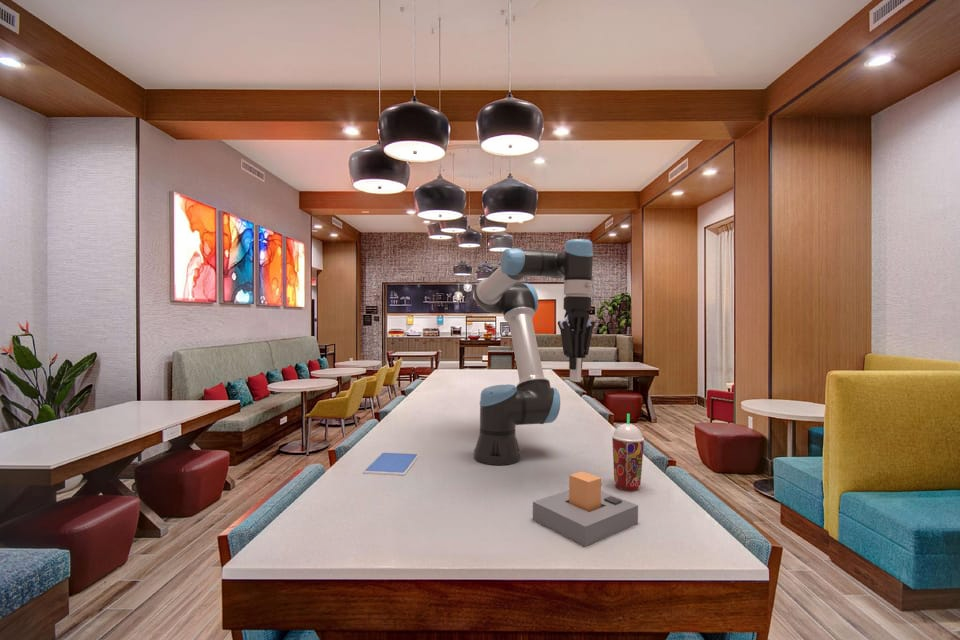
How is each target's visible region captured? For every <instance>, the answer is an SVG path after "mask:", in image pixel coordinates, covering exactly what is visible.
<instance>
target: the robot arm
mask: <svg viewBox="0 0 960 640" xmlns="http://www.w3.org/2000/svg"><path fill="white" fill-rule="evenodd" d="M564 244H565V246H564V249H563V251H559V250H558V251H557V250H556V251H555V250H539V249H538V250H537V249H527V248H519V247H514V248H506V249H504V250H503V252H502V253H501V256H500V265H499V266H498V267H497V269H495V270H494V271H493V272H492V273H491V275H489V276H488V277H487V278H484V279H482V280H480V281H478V283H477V284H476V286H475V288H474V290H473V298H474V300H475V302H476V304H477V306H478V307H479V308H481V309H482V310H483V311H485V312H488V313H492V314H503V319H504V321H505V322H506V323H508V325H509V330H510V336H511V341H512V347H513V352H514V357H515V364H516V371H517V374H518V380H519V381H518V383H517V384H516V385H515V384H497V385H491V386H488V387H485V388H484V389H482V391H481V392H480V398H479V399H480V400H479V407H480V408H479V435H478V438H477V441H476V446H475V448H474V451H473V458H474V460H475V461H477V462H478V463H482V464H486V465H493V466H503V465H504V466H505V465H512V464H515V463H518V462H519V461H521V450H520V447H519V442H518V440H517V436H516V435H517V434H516V428H517V427H516V426H523V425H544V424H551V423H554V421H556V420H557V418H558V416H559V413H560V410H561V395H560V393H559V391H558V389H557V388H555V387H551V383H550V380H549V379H548V378H546V377H545V375H544V371H543V370H544V369H543V365H542V361H541V360H542V359H541V356H540V350H539V346H538V341H537V338H536V332H535V328H534V323H533V318H534V316H535V314H536V312H537V310H538V308H539V296H538V291H537V290H536V288H535V286H533V285H532V284H530V283H524V282H520V281H521V280H522V279H524V278H525V277H526V276H528V277H529V276H531V277H532V276H534V277H549V278H555V279H562V278H564V279H563V280H564V281H563V295H564V297H563V310H564V311H565V313H564V316H563V317H564V318H563V319H562V320H559V321H558V322H557V325H558V328H559V331H560V338H561V344H562V350H563V351H562V353H563V355H564V356H565V357H566V358H568V359H569V360H568V361H569V363H568V369H569V381H570V382H575V383H581V382H582V369H583V359H585V358H586V357H587V356H588V355H589V352H590V345H591V341H592V336H593V330H594V328H595V326H596V322H595V321H594V320H593V321H592V320H590V313H589V311H591V309H592V298H591V297H590V296H591V295H592V287H593V284H592V283H593V261H594V252H593V249H594V248H593V241H591V240H590V239H585V238H584V239H583V238H577V239H576V238H574V239H569V240H566V242H565V243H564Z"/></svg>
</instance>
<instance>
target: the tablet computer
mask: <svg viewBox="0 0 960 640" xmlns="http://www.w3.org/2000/svg"><path fill="white" fill-rule="evenodd" d="M419 457H420V454H417V453H405V452H404V453H403V452H402V453H401V452H399V453H398V452H397V453H396V452H381V454H380V455H378V456H377V457H376V458H375V460H374V461H372V462H371V463H370V464H369V465H368V466H367V467H366V468H365V469H364V470H363V472H362V473H363V474H364V475H378V476H379V475H381V476H400V477H401V476H405V475H406V474H407V473H408V471H409V470H410V469H411V467H412V466H413V465H414V463H415V462H416V461H417V460H418V458H419Z"/></svg>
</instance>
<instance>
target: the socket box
mask: <svg viewBox="0 0 960 640" xmlns="http://www.w3.org/2000/svg"><path fill="white" fill-rule="evenodd" d="M532 520H533V521H535V522H537V523H539V524H541V525H542V526H545V527H547V528H548V529H550V530H553V531H554V532H556V533H559V534H560V535H562V536H564V537H566V538H568V539H569V540H571V541H573V542H576V543H577V544H579V545H581V546H583V547H584V548H585V547H588V546H590V545H592V544H595V543H596V542H599V541H602V540H603V539H605V538H607V537H610V536H612V535H615V534H617V533H619V532H621V531H623V530H626V529H628V528H630V527H633V526H635V525H637V524H638V523H639V504H636V503H633V502H630V501H628V500H626V499H622V498H620V497H617V496H615V495H612V494H610V493H607V492H605V491H602V490H601V508H599V509H596V510H594V511H591V512H587V511H585V510H583V509H581V508H578V507H576V506H574V505H572V504H569V489H568V490H565V491H562V492H559V493H556V494H553V495H550V496H547V497H543V498H540V499H536V500H534V501H533V502H532Z"/></svg>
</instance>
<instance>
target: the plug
mask: <svg viewBox="0 0 960 640" xmlns="http://www.w3.org/2000/svg"><path fill="white" fill-rule="evenodd" d="M568 479H569V480H568V483H569V484H568V485H569V486H568V487H569V489H568V490H569V504H572V505H574V506H576V507H578V508H581V509H583V510H585V511H587V512H591V511H594V510H596V509H599V508H601V491H602V477H599V476H596V475H593V474H591V473H587V472H584V471H580V472H579V471H578V472H575V473H572V474H569V478H568Z"/></svg>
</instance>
